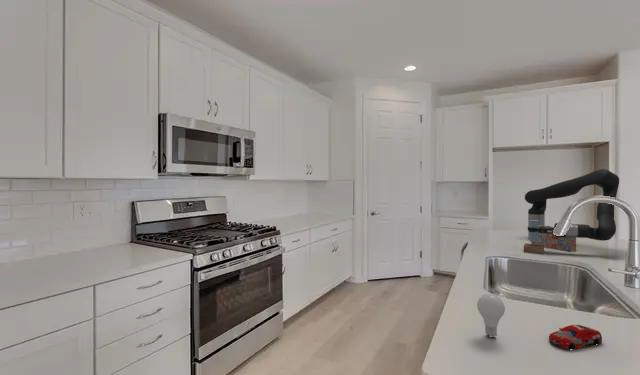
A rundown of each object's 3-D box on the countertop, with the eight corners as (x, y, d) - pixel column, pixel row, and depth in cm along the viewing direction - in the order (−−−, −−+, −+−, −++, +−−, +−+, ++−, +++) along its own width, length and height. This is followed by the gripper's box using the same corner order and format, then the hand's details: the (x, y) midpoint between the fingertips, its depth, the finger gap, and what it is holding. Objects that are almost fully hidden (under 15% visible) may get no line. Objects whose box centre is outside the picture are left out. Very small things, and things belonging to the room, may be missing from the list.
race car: (564, 353, 76) (564, 336, 76) (543, 342, 82) (543, 326, 81) (607, 345, 79) (607, 329, 79) (584, 335, 85) (584, 320, 84)
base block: (525, 250, 188) (525, 243, 188) (544, 251, 182) (544, 244, 182) (523, 253, 180) (523, 245, 180) (543, 255, 175) (543, 247, 175)
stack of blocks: (576, 250, 183) (576, 229, 182) (570, 252, 180) (570, 229, 180) (537, 244, 202) (537, 224, 202) (531, 245, 199) (530, 225, 199)
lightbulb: (473, 331, 87) (472, 290, 87) (497, 331, 87) (496, 290, 87) (484, 342, 81) (484, 299, 81) (510, 342, 81) (509, 299, 81)
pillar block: (529, 241, 184) (529, 219, 184) (538, 241, 182) (537, 220, 182) (530, 242, 180) (530, 220, 180) (539, 242, 178) (538, 220, 178)
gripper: (562, 222, 181) (526, 221, 189) (568, 225, 168) (529, 223, 176) (563, 235, 181) (526, 233, 189) (568, 239, 168) (529, 237, 176)
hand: (528, 229), depth 182 cm, fingers closed on pillar block, 4 cm apart
